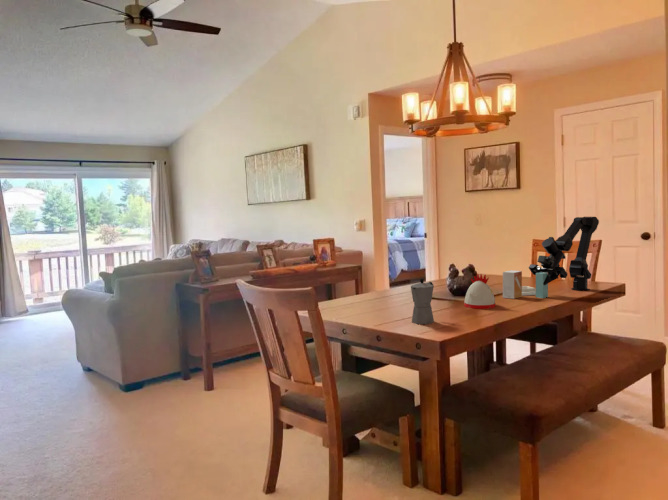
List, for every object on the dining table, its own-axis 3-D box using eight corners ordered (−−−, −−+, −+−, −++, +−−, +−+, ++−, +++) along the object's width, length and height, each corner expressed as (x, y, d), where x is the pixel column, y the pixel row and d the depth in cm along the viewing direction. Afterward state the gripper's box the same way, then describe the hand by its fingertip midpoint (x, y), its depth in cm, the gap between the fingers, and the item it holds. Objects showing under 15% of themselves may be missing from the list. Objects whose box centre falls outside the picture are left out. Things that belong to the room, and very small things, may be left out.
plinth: (529, 290, 276) (529, 285, 276) (541, 294, 264) (541, 288, 264) (507, 292, 274) (507, 286, 274) (518, 295, 263) (518, 290, 262)
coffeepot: (424, 326, 206) (423, 281, 204) (404, 323, 212) (403, 279, 210) (443, 319, 217) (442, 276, 216) (423, 316, 223) (422, 275, 222)
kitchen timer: (490, 309, 232) (489, 276, 231) (460, 307, 240) (459, 275, 238) (498, 304, 244) (498, 272, 243) (470, 302, 251) (469, 271, 250)
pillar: (540, 296, 260) (540, 272, 259) (547, 297, 256) (547, 273, 255) (535, 297, 258) (535, 273, 257) (542, 298, 254) (542, 273, 253)
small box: (514, 299, 255) (514, 272, 254) (502, 297, 259) (502, 271, 258) (522, 296, 260) (522, 270, 259) (510, 295, 265) (510, 270, 264)
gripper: (530, 248, 265) (516, 272, 260) (563, 250, 249) (549, 275, 244) (540, 262, 270) (526, 286, 265) (573, 265, 254) (559, 290, 249)
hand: (540, 284), depth 256 cm, fingers closed on pillar, 4 cm apart
